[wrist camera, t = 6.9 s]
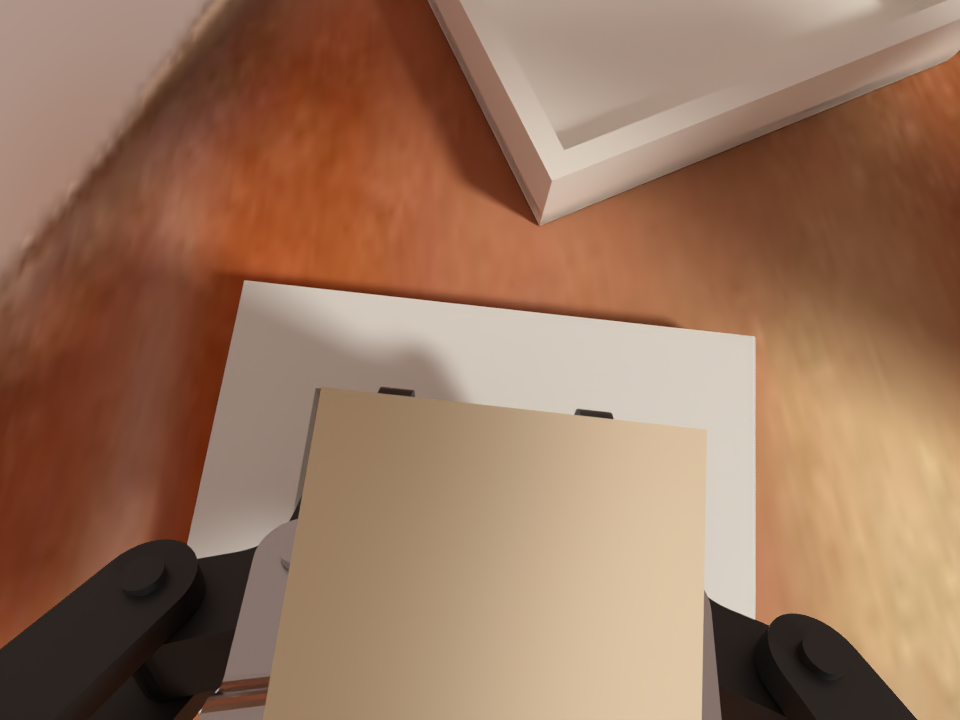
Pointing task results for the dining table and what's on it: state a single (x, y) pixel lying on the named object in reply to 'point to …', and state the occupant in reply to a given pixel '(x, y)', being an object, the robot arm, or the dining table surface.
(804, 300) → the dining table surface
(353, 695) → the wooden post on base
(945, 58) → the tray
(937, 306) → the dining table surface
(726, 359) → the slot plate
